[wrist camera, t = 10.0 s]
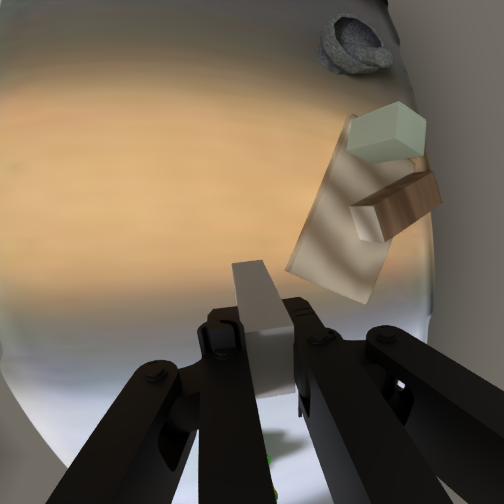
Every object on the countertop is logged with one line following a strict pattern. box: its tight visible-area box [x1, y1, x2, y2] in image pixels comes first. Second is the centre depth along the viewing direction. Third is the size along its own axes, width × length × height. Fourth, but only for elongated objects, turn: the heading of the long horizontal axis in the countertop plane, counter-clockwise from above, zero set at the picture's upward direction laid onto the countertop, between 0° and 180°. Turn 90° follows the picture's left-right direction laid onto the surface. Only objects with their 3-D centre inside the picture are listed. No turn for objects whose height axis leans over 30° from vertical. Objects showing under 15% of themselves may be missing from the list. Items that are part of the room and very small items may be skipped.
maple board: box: [285, 114, 416, 305], centre depth 40 cm, size 24×14×2 cm, turn 155°
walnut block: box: [349, 171, 442, 243], centre depth 38 cm, size 5×5×14 cm
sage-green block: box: [346, 101, 426, 164], centre depth 33 cm, size 5×5×10 cm
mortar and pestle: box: [317, 13, 394, 74], centre depth 31 cm, size 11×9×12 cm
